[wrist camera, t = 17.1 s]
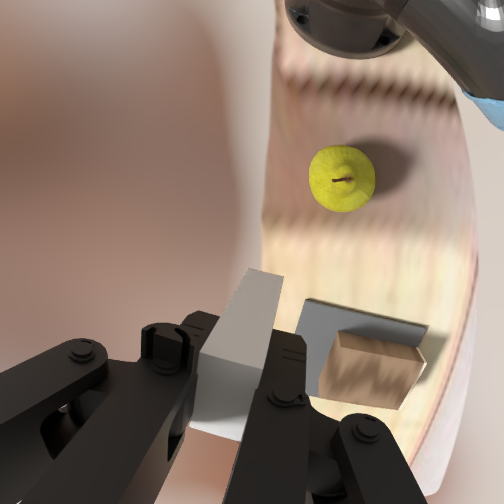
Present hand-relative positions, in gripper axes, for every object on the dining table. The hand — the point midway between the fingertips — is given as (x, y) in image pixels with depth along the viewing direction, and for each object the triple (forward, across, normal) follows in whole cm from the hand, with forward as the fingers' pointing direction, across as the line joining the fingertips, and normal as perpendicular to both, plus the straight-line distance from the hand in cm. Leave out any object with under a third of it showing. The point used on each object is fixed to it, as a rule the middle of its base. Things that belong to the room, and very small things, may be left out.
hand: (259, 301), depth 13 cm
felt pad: (+24, +13, -16) cm, 32 cm away
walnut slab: (+21, +9, -16) cm, 28 cm away
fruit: (+24, +4, +6) cm, 25 cm away
